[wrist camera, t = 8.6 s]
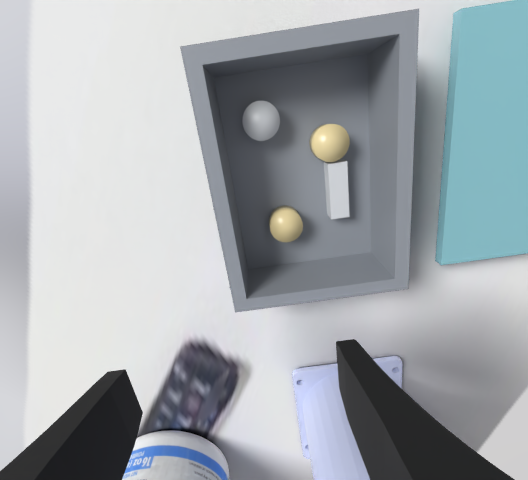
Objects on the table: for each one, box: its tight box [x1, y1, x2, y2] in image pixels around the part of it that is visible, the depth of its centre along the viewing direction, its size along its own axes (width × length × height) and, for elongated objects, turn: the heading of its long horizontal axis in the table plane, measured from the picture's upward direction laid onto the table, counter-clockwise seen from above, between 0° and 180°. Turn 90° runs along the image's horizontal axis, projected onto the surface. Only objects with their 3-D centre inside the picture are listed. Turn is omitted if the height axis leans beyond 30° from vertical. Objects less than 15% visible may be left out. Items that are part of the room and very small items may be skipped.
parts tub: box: [180, 9, 419, 312], centre depth 15 cm, size 12×9×4 cm
